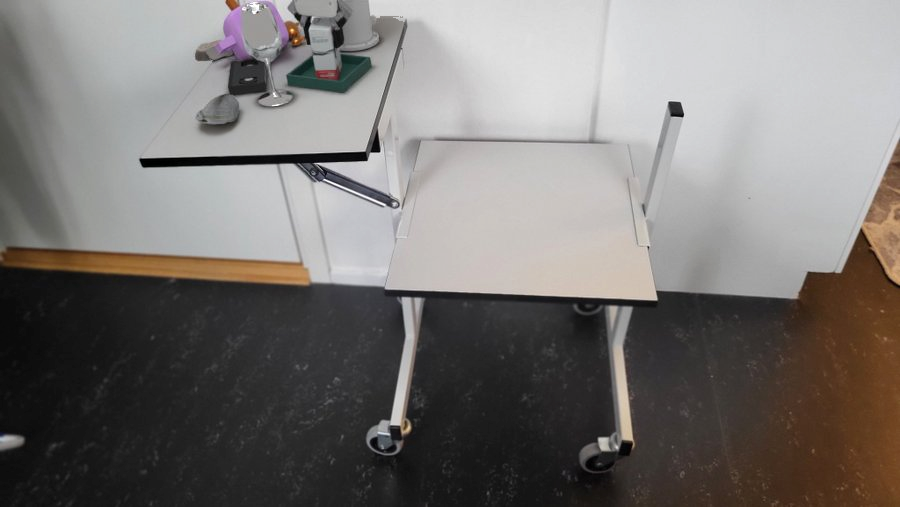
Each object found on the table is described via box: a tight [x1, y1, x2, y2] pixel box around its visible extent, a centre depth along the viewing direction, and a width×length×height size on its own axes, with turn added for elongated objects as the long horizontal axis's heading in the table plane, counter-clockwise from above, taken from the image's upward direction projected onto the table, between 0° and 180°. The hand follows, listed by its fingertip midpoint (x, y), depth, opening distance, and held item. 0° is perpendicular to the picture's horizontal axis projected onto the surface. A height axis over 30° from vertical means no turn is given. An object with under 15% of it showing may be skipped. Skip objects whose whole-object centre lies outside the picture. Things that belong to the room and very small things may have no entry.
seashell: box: [195, 93, 240, 125], centre depth 137 cm, size 12×8×5 cm
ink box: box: [309, 17, 342, 80], centre depth 149 cm, size 8×5×12 cm, turn 0°
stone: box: [194, 39, 234, 62], centre depth 165 cm, size 12×5×3 cm, turn 131°
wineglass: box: [241, 1, 294, 108], centre depth 139 cm, size 8×8×20 cm
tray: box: [285, 53, 372, 94], centre depth 153 cm, size 14×14×2 cm
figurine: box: [284, 20, 306, 47], centre depth 171 cm, size 12×4×11 cm
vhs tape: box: [227, 59, 268, 96], centre depth 153 cm, size 14×8×2 cm, turn 12°
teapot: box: [215, 0, 290, 61], centre depth 160 cm, size 20×12×13 cm
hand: (325, 43), depth 149 cm, fingers closed on ink box, 6 cm apart
